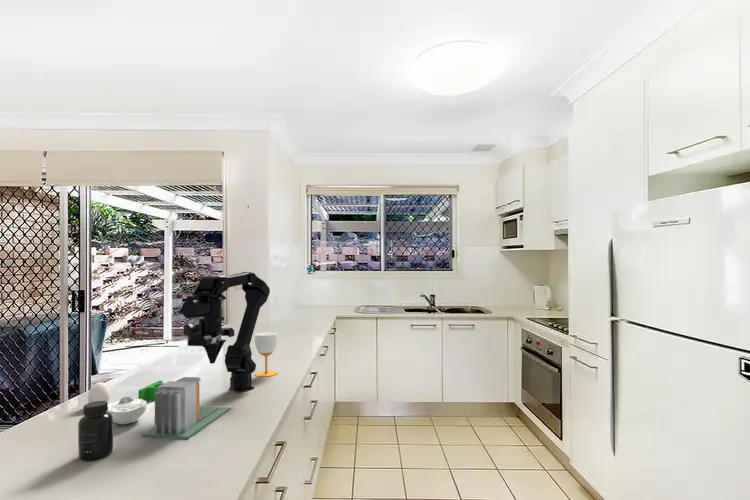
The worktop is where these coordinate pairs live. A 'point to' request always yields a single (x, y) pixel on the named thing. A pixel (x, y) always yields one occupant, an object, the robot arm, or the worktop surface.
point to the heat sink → (177, 406)
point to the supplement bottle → (95, 432)
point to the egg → (99, 393)
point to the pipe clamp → (149, 391)
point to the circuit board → (198, 427)
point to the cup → (266, 350)
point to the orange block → (197, 401)
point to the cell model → (127, 410)
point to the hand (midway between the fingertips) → (212, 363)
